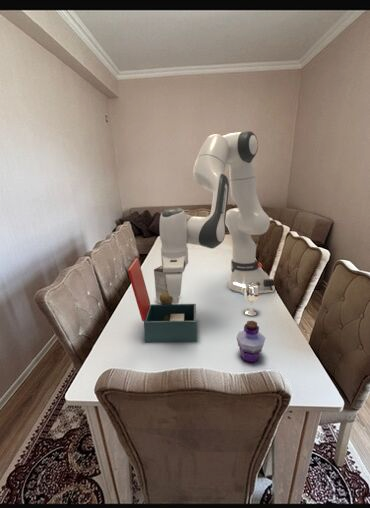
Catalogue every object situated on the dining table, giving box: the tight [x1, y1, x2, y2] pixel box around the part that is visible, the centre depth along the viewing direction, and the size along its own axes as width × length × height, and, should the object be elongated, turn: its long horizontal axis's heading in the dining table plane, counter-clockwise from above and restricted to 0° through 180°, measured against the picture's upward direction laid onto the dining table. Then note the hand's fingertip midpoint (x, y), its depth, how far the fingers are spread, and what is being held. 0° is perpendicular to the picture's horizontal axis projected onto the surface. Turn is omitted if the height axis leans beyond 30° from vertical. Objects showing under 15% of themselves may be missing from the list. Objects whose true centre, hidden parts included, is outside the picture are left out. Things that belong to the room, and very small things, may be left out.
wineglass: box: [243, 283, 260, 317], centre depth 100 cm, size 6×6×12 cm
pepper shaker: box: [160, 292, 173, 321], centre depth 97 cm, size 6×6×11 cm
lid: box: [127, 257, 151, 322], centre depth 86 cm, size 18×13×1 cm
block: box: [170, 314, 185, 321], centre depth 90 cm, size 5×5×5 cm
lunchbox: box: [143, 303, 198, 343], centre depth 90 cm, size 18×13×8 cm
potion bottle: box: [236, 320, 267, 364], centre depth 75 cm, size 9×9×12 cm
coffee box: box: [153, 264, 168, 304], centre depth 113 cm, size 9×6×16 cm
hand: (176, 296), depth 87 cm, fingers open, 8 cm apart
